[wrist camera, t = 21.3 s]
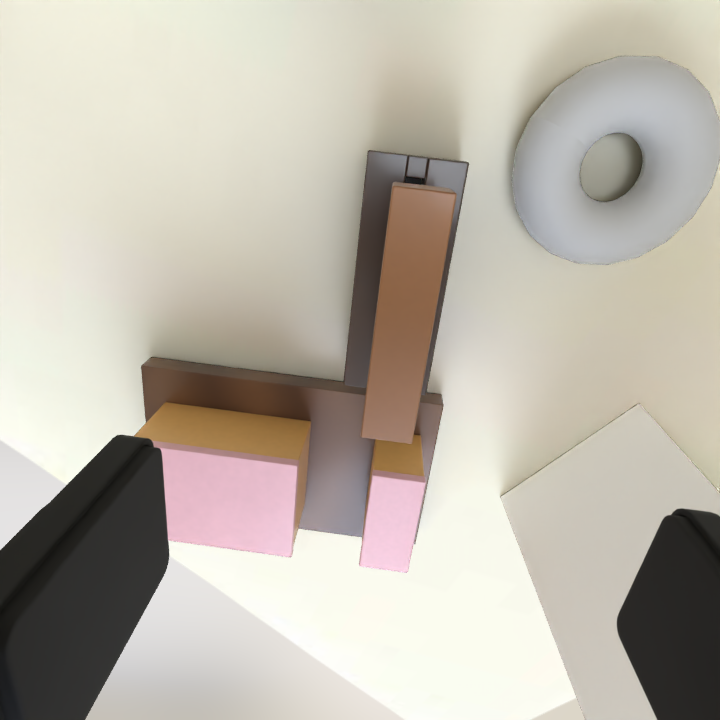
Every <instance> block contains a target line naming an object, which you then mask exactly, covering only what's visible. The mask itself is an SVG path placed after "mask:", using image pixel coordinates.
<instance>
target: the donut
mask: <svg viewBox="0 0 720 720" xmlns="http://www.w3.org/2000/svg"><path fill="white" fill-rule="evenodd" d="M612 133H625V134H628V135H630V136H632V137H633V138H634V139H635V140H636V141H637V142H638V144H639V146H640V149H641V151H642V159H643V165H642V169H641V173H640V176H639V177H638V179H637V181H636V183H635V184H634V186H633V187H632V188H631V189H630V190H629V191H628V192H627V193H626V194H624V195H623V196H621V197H619V198H618V199H616V200H613V201H609V202H599V201H596V200H594V199H591V198H590V197H589V196H588V195H586V194H585V192H584V190H583V188H582V185H581V181H580V169H581V164H582V160H583V159H584V157H585V155H586V153H587V151H588V150H589V148H590V147H591V146H592V145H593V144H594V143H595V142H596V141H597V140H598V139H600V138H602V137H603V136H605V135H608V134H612ZM719 161H720V120H719V117H718V115H717V112H716V109H715V106H714V104H713V101H712V98H711V96H710V93H709V91H708V90H707V89H706V88H705V87H704V86H703V85H702V84H701V83H700V82H699V81H698V80H697V79H696V77H695V76H694V75H693V74H692V73H691V72H690V71H689V70H688V69H686V68H684V67H681V66H679V65H677V64H674V63H672V62H670V61H667V60H665V59H663V58H660V57H652V56H618V57H615V58H612V59H608V60H605V61H602V62H599V63H596V64H593V65H590V66H587V67H585V68H583V69H582V70H580V71H579V72H577V73H576V74H575V75H573V76H572V77H570V78H569V79H567V80H566V81H564V82H563V83H562V84H560V85H559V86H557V87H556V88H555V89H554V90H553V91H552V92H551V93H550V95H549V96H548V97H547V98H546V99H545V101H544V102H543V103H542V104H541V105H540V107H539V108H538V109H537V110H536V111H535V113H534V114H533V115H532V116H531V117H530V119H529V122H528V124H527V126H526V128H525V130H524V133H523V135H522V137H521V139H520V141H519V144H518V146H517V148H516V153H515V160H514V166H513V173H512V186H513V193H514V199H515V205H516V210H517V212H518V214H519V216H520V218H521V219H522V221H523V223H524V225H525V227H526V229H527V231H528V233H529V234H530V236H531V237H533V238H534V239H535V240H536V241H537V242H538V243H539V244H540V245H542V246H543V247H544V248H545V249H546V250H547V251H548V252H550V253H551V254H554V255H556V256H559V257H562V258H564V259H567V260H569V261H572V262H574V263H579V264H600V265H610V264H614V263H618V262H622V261H626V260H630V259H634V258H638V257H640V256H642V255H643V254H645V253H647V252H649V251H651V250H652V249H654V248H656V247H658V246H660V245H661V244H663V243H665V242H667V241H668V240H669V239H670V238H671V237H672V236H673V235H674V234H675V233H676V232H677V231H679V230H680V229H681V228H682V227H683V226H684V225H685V224H686V223H687V222H688V221H689V220H690V219H691V218H692V217H693V216H694V215H695V213H696V211H697V210H698V208H699V207H700V205H701V203H702V202H703V200H704V199H705V197H706V196H707V194H708V192H709V191H710V189H711V187H712V184H713V181H714V177H715V174H716V171H717V168H718V164H719Z"/></svg>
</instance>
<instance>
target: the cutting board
mask: <svg viewBox="0 0 720 720" xmlns="http://www.w3.org/2000/svg"><path fill="white" fill-rule="evenodd" d="M141 370H142V382H143V394H144V406H145V417H146V423H147V421H148V420H149V419H150V418H151V417H152V416H153V415H154V414H155V413H156V412H157V411H158V410H159V409H160V408H161V406H162V405H163V404H164V403H165V402H167V403H175V404H182V405H190V406H198V407H205V408H213V409H220V410H228V411H236V412H243V413H251V414H258V415H266V416H274V417H281V418H289V419H296V420H304V421H311V430H310V442H309V455H308V468H307V481H306V494H305V504H304V508H303V512H302V516H301V519H300V523H299V527H298V528H299V529H306V530H314V531H321V532H328V533H335V534H343V535H350V536H357V537H363V526H364V515H365V507H366V500H367V493H368V486H369V479H370V472H371V465H372V458H373V451H374V444H375V439H370V438H362V437H361V436H360V435H361V427H362V419H363V412H364V404H365V396H366V388H363V387H355V386H348V385H344V384H343V383H344V382H339V381H332V380H324V379H316V378H308V377H301V376H293V375H285V374H278V373H270V372H262V371H254V370H247V369H239V368H231V367H224V366H216V365H208V364H200V363H193V362H185V361H177V360H170V359H162V358H154V357H151V358H150V359H149V360H148V361H146V362H145V363H144V364H143V365H142V366H141ZM442 410H443V400H442V395H440V394H432V393H426V395H421V397H420V402H419V408H418V413H417V419H416V424H415V430H414V435H420V436H421V443H422V456H423V468H424V477H425V479H426V484H425V489H424V494H423V499H422V504H421V509H420V514H419V519H418V524H417V529H416V534H415V539H414V543H413V544H415V542H416V538H417V533H418V528H419V523H420V518H421V513H422V508H423V503H424V498H425V493H426V488H427V484H428V479H429V474H430V469H431V464H432V459H433V454H434V449H435V444H436V439H437V434H438V430H439V425H440V420H441V415H442Z"/></svg>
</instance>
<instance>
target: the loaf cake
mask: <svg viewBox="0 0 720 720" xmlns="http://www.w3.org/2000/svg"><path fill="white" fill-rule="evenodd" d="M310 430H311V421H304V420H296V419H289V418H281V417H274V416H266V415H258V414H251V413H243V412H236V411H228V410H220V409H213V408H205V407H198V406H190V405H182V404H175V403H167V402H165V403H164V404H163V405H162V406H161V408H160V409H159V410H158V411H157V412H156V413H155V414H154V415H153V416H152V417H151V418H150V419H149V420H148V421H147V423H146V424H145V425H144V426H143V427H142V428H141V429H140V430H139V431H138V432H137V433H136V434H135V435H134V437H141V438H149V439H151V440H152V442H153V445H154V447H157V448H160V450H161V452H162V461H163V475H164V489H165V503H166V517H167V531H168V540H169V541H177V542H184V543H191V544H198V545H206V546H213V547H220V548H227V549H234V550H242V551H249V552H256V553H263V554H271V555H278V556H285V557H292V553H293V546H294V542H295V538H296V534H297V531H298V527H299V523H300V519H301V516H302V512H303V508H304V504H305V494H306V481H307V468H308V455H309V442H310Z"/></svg>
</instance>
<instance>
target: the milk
mask: <svg viewBox="0 0 720 720" xmlns="http://www.w3.org/2000/svg"><path fill="white" fill-rule="evenodd" d="M500 498H501V500H502V503H503V505H504V508H505V511H506V513H507V516H508V519H509V521H510V524H511V526H512V529H513V532H514V534H515V537H516V540H517V542H518V545H519V547H520V550H521V553H522V555H523V558H524V561H525V563H526V566H527V568H528V571H529V574H530V576H531V579H532V582H533V584H534V587H535V589H536V592H537V595H538V597H539V600H540V603H541V605H542V608H543V610H544V613H545V616H546V618H547V621H548V624H549V626H550V629H551V631H552V634H553V637H554V639H555V642H556V645H557V647H558V650H559V653H560V655H561V658H562V660H563V663H564V666H565V668H566V671H567V674H568V676H569V679H570V681H571V684H572V687H573V689H574V692H575V695H576V697H577V700H578V702H579V705H580V708H581V710H582V713H583V715H584V718H585V720H657V718H656V716H655V714H654V712H653V710H652V708H651V705H650V703H649V701H648V699H647V697H646V695H645V692H644V690H643V688H642V686H641V684H640V682H639V679H638V677H637V675H636V673H635V671H634V668H633V666H632V664H631V662H630V660H629V658H628V655H627V653H626V651H625V649H624V647H623V645H622V642H621V640H620V638H619V635H618V631H617V617H618V614H619V612H620V609H621V607H622V605H623V603H624V601H625V599H626V597H627V594H628V592H629V590H630V588H631V586H632V584H633V582H634V579H635V577H636V575H637V573H638V571H639V569H640V567H641V564H642V562H643V560H644V558H645V556H646V554H647V552H648V549H649V547H650V545H651V543H652V541H653V539H654V537H655V534H656V532H657V530H658V528H659V526H660V524H661V522H662V520H663V518H664V517H665V516H667V515H671V514H672V513H673V511H675V510H676V509H680V508H684V509H691V510H699V511H706V512H712V513H715V514H717V515H719V516H720V493H719V492H718V491H717V490H716V488H715V487H714V486H713V485H712V484H711V483H710V482H709V481H708V479H707V478H706V477H705V476H704V475H703V474H702V473H701V472H700V470H699V469H698V468H697V467H696V466H695V465H694V464H693V463H692V461H691V460H690V459H689V458H688V457H687V456H686V455H685V454H684V452H683V451H682V450H681V449H680V448H679V447H678V446H677V445H676V443H675V442H674V441H673V440H672V439H671V438H670V437H669V436H668V434H667V433H666V432H665V431H664V430H663V429H662V428H661V427H660V426H659V424H658V423H657V422H656V421H655V420H654V419H653V418H652V417H651V415H650V414H649V413H648V412H647V411H646V410H645V409H644V408H643V406H642V405H641V404H640V403H639V404H637V405H636V406H634V407H633V408H631V409H630V410H628V411H627V412H625V413H624V414H622V415H621V416H619V417H618V418H617V419H615V420H614V421H612V422H611V423H609V424H608V425H606V426H605V427H603V428H602V429H600V430H599V431H597V432H596V433H594V434H593V435H591V436H590V437H588V438H587V439H585V440H584V441H583V442H581V443H580V444H578V445H577V446H575V447H574V448H572V449H571V450H569V451H568V452H566V453H565V454H563V455H562V456H560V457H559V458H557V459H556V460H554V461H553V462H551V463H550V464H549V465H547V466H546V467H544V468H543V469H541V470H540V471H538V472H537V473H535V474H534V475H532V476H531V477H529V478H528V479H526V480H525V481H523V482H522V483H520V484H519V485H517V486H516V487H515V488H513V489H512V490H510V491H509V492H507V493H506V494H504V495H503V496H501V497H500Z"/></svg>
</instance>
